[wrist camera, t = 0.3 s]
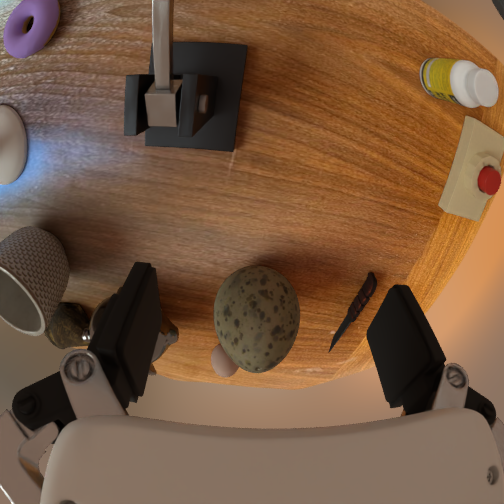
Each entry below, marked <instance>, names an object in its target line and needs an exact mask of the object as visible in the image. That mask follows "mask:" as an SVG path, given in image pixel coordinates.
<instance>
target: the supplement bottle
mask: <svg viewBox="0 0 504 504" xmlns="http://www.w3.org/2000/svg"><path fill="white" fill-rule="evenodd" d="M420 80H421V84H422V86H423V88H424V89H425V91H426V92H427V93H428V94H429V95H431V96H433V97H435V98H438V99H441V100H445V101H449V102H452V103H456V104H459V105H462V106H466V107H470V108H475V107H478V106H480V105H482V106H485V107H491V106H493V105H494V104H495V103H496V101H497V99H498V85H497V82H496V79H495V77H494V76H493V74H492V73H491V72H489V71H488V70H486V69H481V68H479V67H478V66H477V65H475V64H474V63H472V62H470V61H467V60H459V59H446V58H429V59H427V60H425V61H424V62H423V63H422V65H421V68H420Z"/></svg>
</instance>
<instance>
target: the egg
mask: <svg viewBox="0 0 504 504" xmlns="http://www.w3.org/2000/svg"><path fill="white" fill-rule="evenodd" d="M211 364H212V366H213V369H214V370H215V372H216V373H217V374H218V375H219V376H222V377H230V376H232V375H233V374H234V373H235V372H236V371H237V370H238V368H239V366H238V365H236V364H235V363H234V362H233V361H232V360H231V358H230V357H229V356H228V355H227V353H226V352H225V350H224V349H223V347H222V345H221V343H220V344H218V345H217V346H216V347H215V348H214V350H213V351H212V355H211Z"/></svg>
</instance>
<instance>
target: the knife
mask: <svg viewBox="0 0 504 504" xmlns="http://www.w3.org/2000/svg"><path fill="white" fill-rule="evenodd" d="M376 287H377V279H376V277H375V275H374V274H373V273H368V277H367V280H366V281H365V283H364V284H363V286H362V288H361V289H360V291H359V292H358V295H357V296H356V297H355V299H354V302H352V303H351V305H350V307H349V309H348V313H347V316H346V317H345V319H344V321H343V322H342V324H341V325H340V327H339V329H338V330H337V332H336V333H335V335H334V337H333V340H332V343H331V346H330V349H329V352H330V351H331V349H332V348H333V347H334V345H335V344H336V343H337V341H338V340H339V338H340V337H341V336H342V334H343V333H344V332H345V330H346V329H347V327H348V326H349V325H350V323H351V322H354V321H355V320H356V318H357V317H358V316H359V314H360V312H361V311H362V310H363V308H364V307H365V305H366V304H367V303H368V301H369V300H370V298H369V297H372V295H373V294H374V292H375V290H376ZM329 352H328V353H329Z"/></svg>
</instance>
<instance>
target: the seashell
mask: <svg viewBox="0 0 504 504" xmlns="http://www.w3.org/2000/svg"><path fill="white" fill-rule="evenodd" d="M88 324H89V320H88V318H87V316H86V314H85V312H84V311H83V309H82V308H81V307H80V305H77V304H64V303H59V305H58V307H57V309H56V311H55V313H54V315H53V317H52V320H51V322H50V324H49V326H48V328H47V329H46V330H45V332H44V333H45V336H46V337H47V338H48V339H49V340H50V342H51V343H52V344H53V345H55V346H57V347H58V348H60V349H65V348H67V347H77V346H89V344H90V343H88V342H85V341H83V340H82V333H83V331H84V329H85V328H87V327H88Z"/></svg>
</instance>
